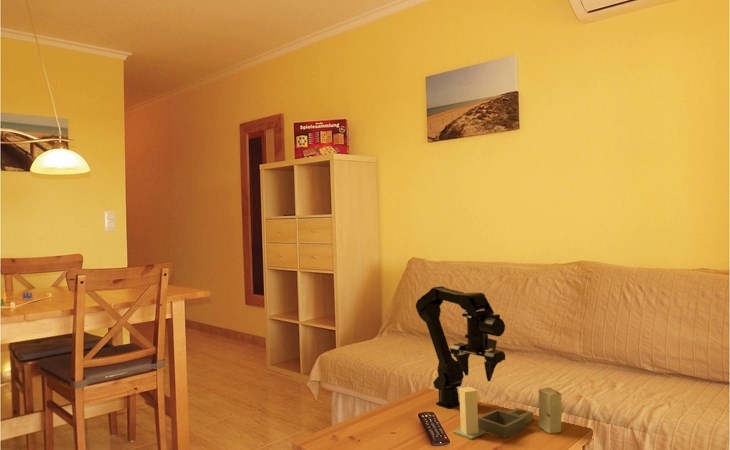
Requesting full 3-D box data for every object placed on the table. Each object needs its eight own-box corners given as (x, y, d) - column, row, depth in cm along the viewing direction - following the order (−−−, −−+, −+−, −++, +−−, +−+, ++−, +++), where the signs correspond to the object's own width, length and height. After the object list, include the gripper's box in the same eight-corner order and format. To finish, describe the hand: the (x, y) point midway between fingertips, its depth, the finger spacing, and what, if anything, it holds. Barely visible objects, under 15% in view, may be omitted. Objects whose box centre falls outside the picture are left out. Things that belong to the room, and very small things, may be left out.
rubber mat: (453, 433, 168) (453, 431, 168) (467, 426, 173) (467, 424, 173) (471, 439, 163) (471, 437, 163) (485, 433, 168) (485, 431, 168)
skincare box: (538, 427, 171) (536, 388, 170) (550, 424, 172) (549, 386, 172) (550, 434, 165) (549, 394, 165) (562, 432, 166) (561, 392, 166)
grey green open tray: (477, 428, 171) (477, 417, 171) (511, 413, 183) (511, 403, 183) (505, 438, 163) (505, 427, 163) (539, 421, 175) (539, 411, 175)
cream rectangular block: (460, 429, 169) (459, 388, 169) (472, 427, 170) (471, 386, 170) (466, 434, 166) (464, 392, 165) (478, 432, 167) (476, 390, 166)
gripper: (514, 331, 178) (516, 378, 178) (469, 323, 192) (470, 367, 193) (493, 337, 171) (495, 386, 171) (448, 329, 185) (450, 374, 186)
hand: (477, 378), depth 180 cm, fingers open, 9 cm apart
